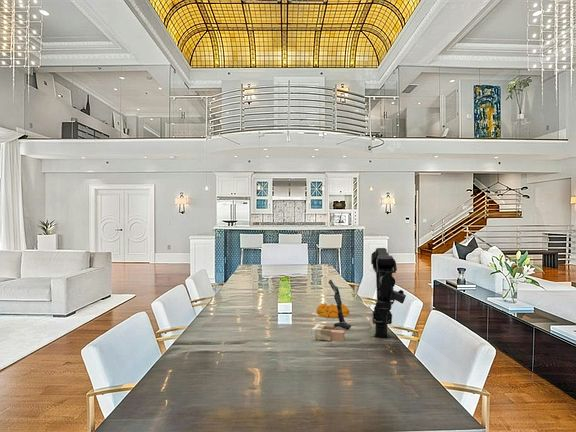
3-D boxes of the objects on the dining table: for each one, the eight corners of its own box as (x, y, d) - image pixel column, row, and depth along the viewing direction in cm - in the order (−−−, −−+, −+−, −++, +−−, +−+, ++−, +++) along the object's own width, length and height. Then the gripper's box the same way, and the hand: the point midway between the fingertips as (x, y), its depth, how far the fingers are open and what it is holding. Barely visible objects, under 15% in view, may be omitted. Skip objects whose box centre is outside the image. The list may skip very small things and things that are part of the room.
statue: (350, 331, 208) (352, 282, 208) (326, 329, 211) (328, 280, 210) (351, 326, 218) (353, 279, 218) (328, 324, 221) (330, 277, 220)
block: (320, 334, 202) (320, 324, 202) (334, 335, 200) (334, 325, 200) (315, 339, 194) (315, 329, 194) (330, 340, 191) (329, 330, 191)
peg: (343, 341, 192) (343, 332, 192) (322, 339, 195) (322, 331, 195) (344, 339, 196) (344, 330, 196) (323, 337, 198) (323, 328, 198)
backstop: (317, 334, 203) (317, 323, 203) (320, 334, 202) (320, 324, 202) (311, 339, 194) (311, 329, 194) (315, 340, 193) (315, 329, 193)
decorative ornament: (316, 311, 234) (317, 300, 263) (316, 319, 234) (317, 307, 263) (350, 311, 232) (346, 300, 262) (350, 319, 232) (347, 307, 262)
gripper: (403, 289, 170) (403, 327, 170) (406, 282, 187) (406, 317, 187) (375, 288, 174) (375, 325, 174) (380, 281, 191) (381, 315, 191)
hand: (385, 320), depth 181 cm, fingers open, 9 cm apart
